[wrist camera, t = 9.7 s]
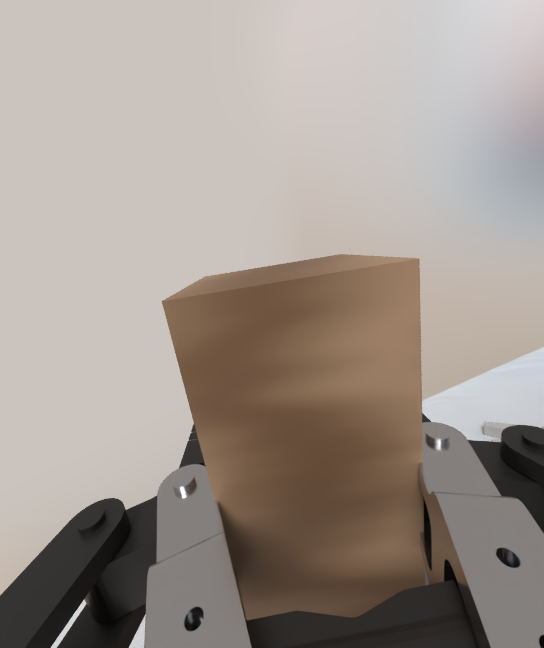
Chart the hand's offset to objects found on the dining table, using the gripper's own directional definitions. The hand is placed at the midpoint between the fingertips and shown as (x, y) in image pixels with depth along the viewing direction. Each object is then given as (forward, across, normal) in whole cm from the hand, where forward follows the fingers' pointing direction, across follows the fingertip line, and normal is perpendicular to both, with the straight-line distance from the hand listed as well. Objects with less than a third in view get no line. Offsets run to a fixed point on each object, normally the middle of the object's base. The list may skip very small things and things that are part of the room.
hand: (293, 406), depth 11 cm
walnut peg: (-3, 0, +8) cm, 9 cm away
